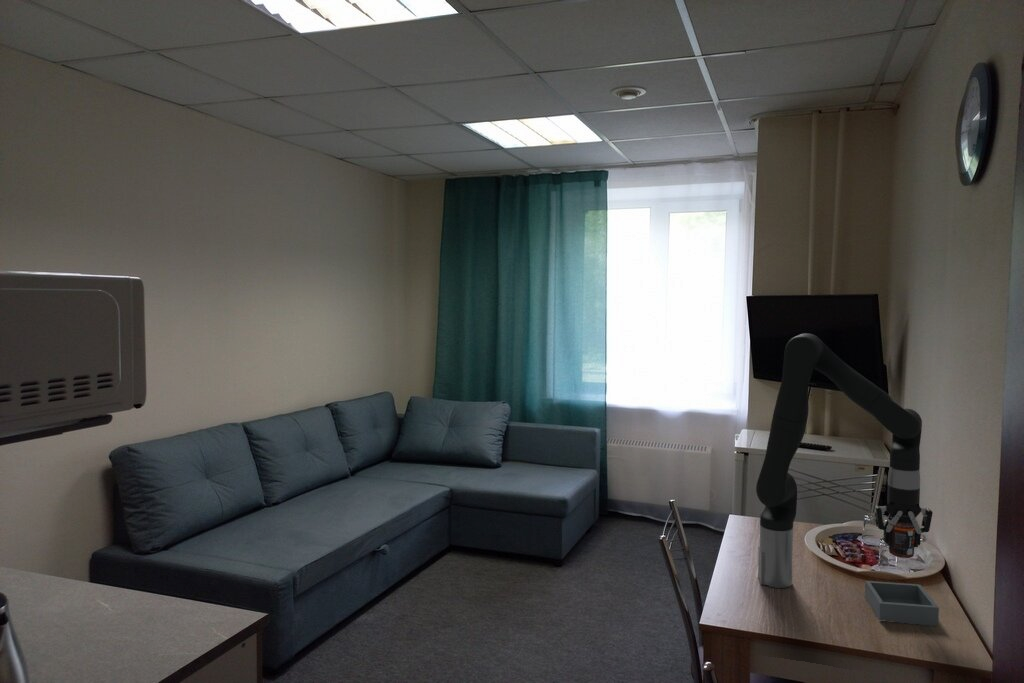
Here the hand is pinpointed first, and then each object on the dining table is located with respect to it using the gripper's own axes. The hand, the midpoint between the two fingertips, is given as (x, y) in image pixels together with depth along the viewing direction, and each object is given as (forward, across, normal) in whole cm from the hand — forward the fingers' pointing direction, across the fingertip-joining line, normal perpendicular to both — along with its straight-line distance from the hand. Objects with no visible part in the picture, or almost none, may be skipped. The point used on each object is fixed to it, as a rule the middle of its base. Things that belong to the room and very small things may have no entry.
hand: (901, 545), depth 189 cm
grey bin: (+18, 0, 0) cm, 18 cm away
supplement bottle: (+3, 0, 0) cm, 3 cm away
